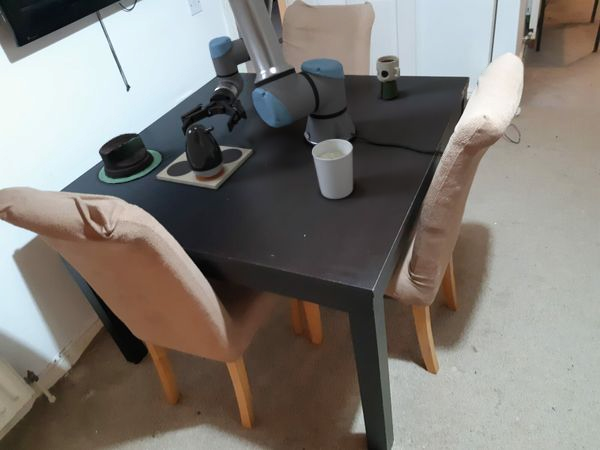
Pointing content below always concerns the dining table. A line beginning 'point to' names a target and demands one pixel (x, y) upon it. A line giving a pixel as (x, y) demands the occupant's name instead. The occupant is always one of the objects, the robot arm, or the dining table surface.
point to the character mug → (388, 75)
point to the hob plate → (185, 175)
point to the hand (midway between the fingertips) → (206, 129)
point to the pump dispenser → (203, 151)
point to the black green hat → (126, 158)
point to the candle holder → (334, 167)
